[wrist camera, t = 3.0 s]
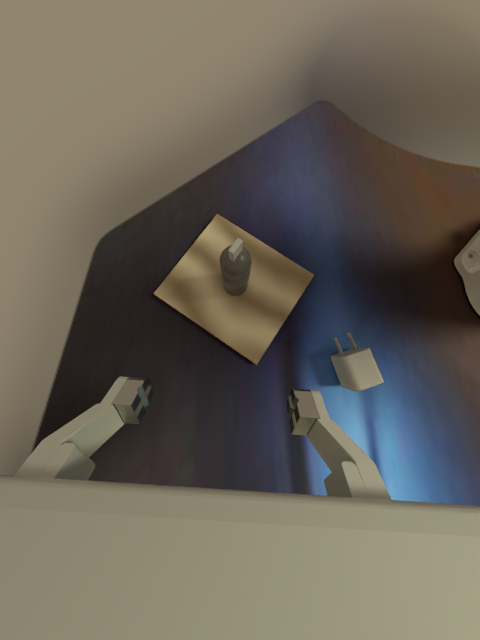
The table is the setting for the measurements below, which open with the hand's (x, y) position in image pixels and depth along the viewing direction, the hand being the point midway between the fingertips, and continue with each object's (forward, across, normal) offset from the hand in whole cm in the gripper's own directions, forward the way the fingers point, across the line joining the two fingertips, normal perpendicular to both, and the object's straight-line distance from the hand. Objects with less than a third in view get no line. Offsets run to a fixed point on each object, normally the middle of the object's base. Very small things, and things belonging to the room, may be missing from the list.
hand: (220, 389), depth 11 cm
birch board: (+20, 0, +3) cm, 20 cm away
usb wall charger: (+13, -16, +10) cm, 23 cm away
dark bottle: (+19, 0, +2) cm, 19 cm away
